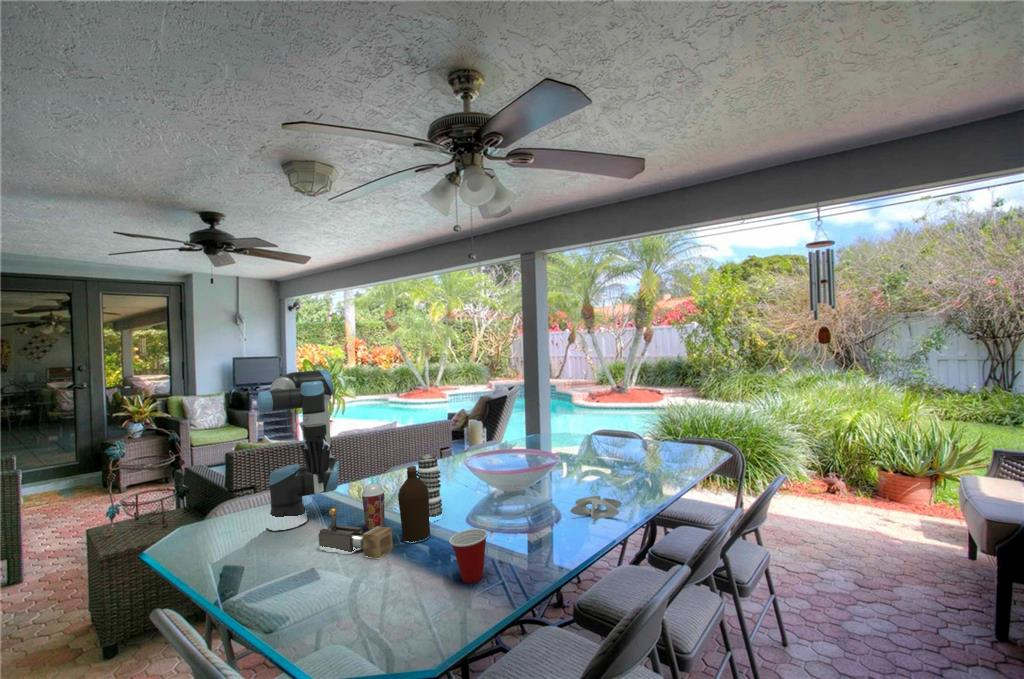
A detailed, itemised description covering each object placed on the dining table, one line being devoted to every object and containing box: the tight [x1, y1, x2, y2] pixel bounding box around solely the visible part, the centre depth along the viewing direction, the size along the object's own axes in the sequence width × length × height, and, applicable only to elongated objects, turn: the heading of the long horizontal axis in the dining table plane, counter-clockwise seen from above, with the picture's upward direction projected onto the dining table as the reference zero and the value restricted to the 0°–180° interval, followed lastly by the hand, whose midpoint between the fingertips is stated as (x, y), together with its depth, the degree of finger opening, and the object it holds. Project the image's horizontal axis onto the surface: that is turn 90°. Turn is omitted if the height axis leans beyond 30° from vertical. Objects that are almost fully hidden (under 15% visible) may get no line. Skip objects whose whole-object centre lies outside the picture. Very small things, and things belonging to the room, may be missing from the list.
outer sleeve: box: [318, 524, 365, 552], centre depth 158 cm, size 14×6×7 cm, turn 66°
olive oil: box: [397, 465, 431, 542], centre depth 162 cm, size 11×11×25 cm
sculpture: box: [569, 495, 623, 520], centre depth 170 cm, size 18×20×6 cm
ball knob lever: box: [328, 507, 364, 549], centre depth 157 cm, size 16×4×12 cm, turn 66°
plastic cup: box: [449, 528, 488, 584], centre depth 129 cm, size 11×11×12 cm
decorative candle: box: [416, 453, 443, 517], centre depth 181 cm, size 9×9×25 cm
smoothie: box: [361, 475, 386, 528], centre depth 175 cm, size 8×8×20 cm
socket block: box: [363, 526, 394, 559], centre depth 152 cm, size 6×7×8 cm
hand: (319, 492), depth 162 cm, fingers closed
